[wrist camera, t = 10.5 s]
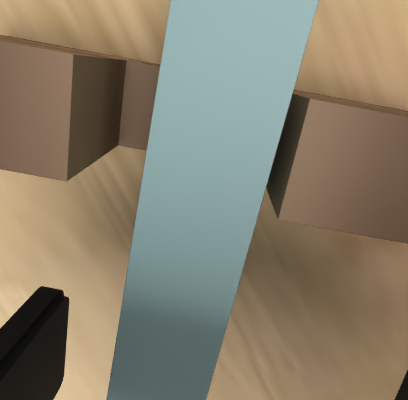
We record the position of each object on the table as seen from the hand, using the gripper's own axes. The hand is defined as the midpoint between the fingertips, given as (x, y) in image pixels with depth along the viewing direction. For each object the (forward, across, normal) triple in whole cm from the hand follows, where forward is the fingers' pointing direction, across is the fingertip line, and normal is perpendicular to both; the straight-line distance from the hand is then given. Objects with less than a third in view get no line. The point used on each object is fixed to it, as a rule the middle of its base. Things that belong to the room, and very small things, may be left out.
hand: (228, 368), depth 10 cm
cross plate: (+7, +1, -6) cm, 9 cm away
